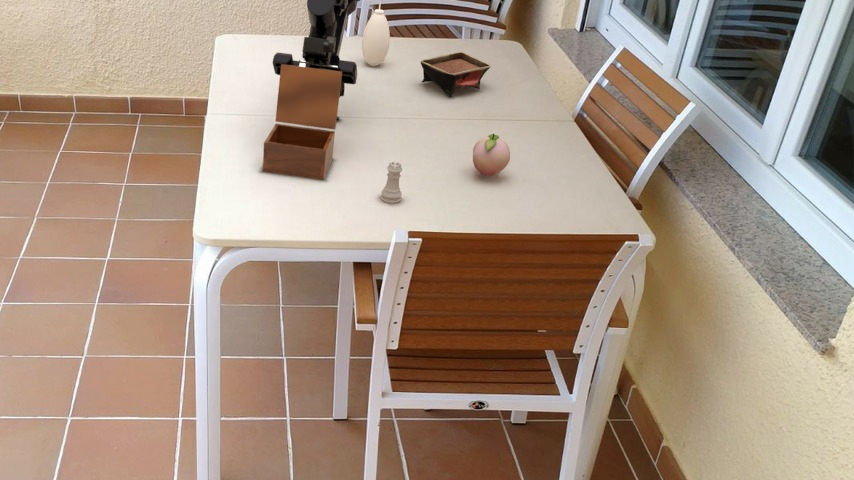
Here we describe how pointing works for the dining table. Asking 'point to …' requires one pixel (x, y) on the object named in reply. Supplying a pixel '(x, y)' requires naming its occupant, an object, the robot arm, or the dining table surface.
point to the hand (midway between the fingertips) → (308, 103)
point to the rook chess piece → (392, 184)
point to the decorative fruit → (490, 155)
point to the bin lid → (308, 96)
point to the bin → (298, 151)
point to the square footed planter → (454, 71)
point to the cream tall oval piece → (376, 38)
